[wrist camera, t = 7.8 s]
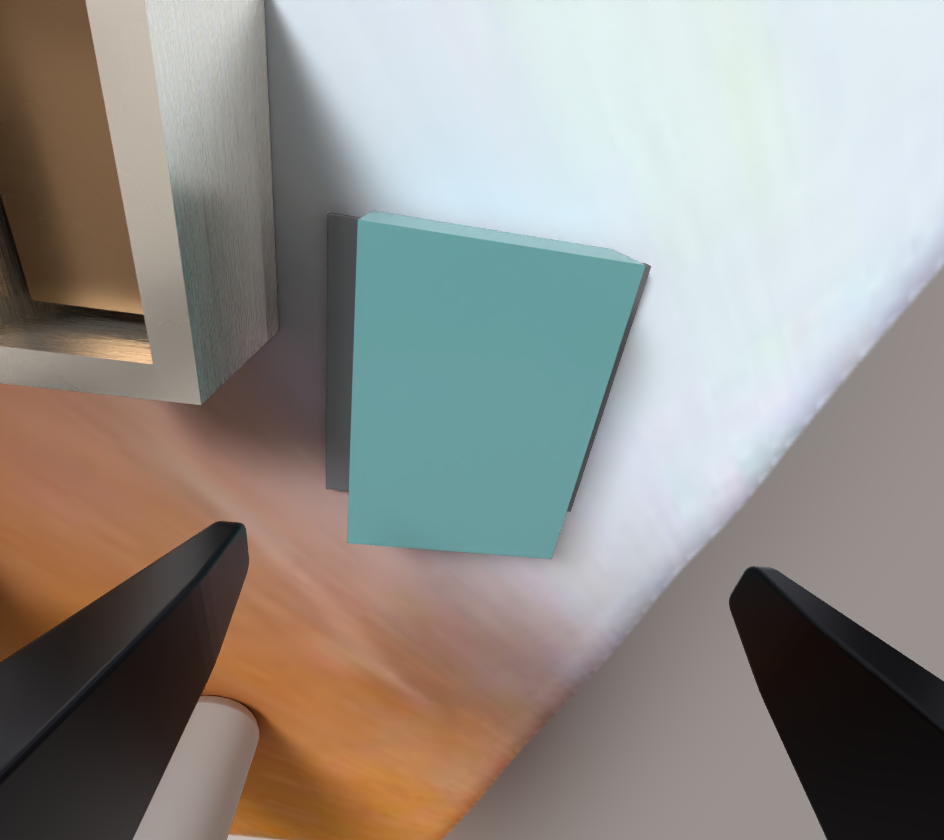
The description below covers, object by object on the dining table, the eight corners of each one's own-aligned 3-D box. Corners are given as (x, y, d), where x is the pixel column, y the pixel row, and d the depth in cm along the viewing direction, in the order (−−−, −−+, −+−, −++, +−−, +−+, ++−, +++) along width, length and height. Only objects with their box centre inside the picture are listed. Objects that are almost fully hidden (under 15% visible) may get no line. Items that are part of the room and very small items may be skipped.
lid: (538, 511, 17) (551, 558, 15) (359, 495, 16) (347, 543, 14) (612, 249, 13) (645, 265, 11) (373, 210, 12) (357, 219, 10)
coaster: (567, 504, 18) (570, 511, 17) (328, 482, 17) (325, 488, 16) (645, 263, 13) (651, 266, 13) (331, 213, 12) (327, 214, 12)
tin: (278, 330, 14) (201, 404, 9) (99, 307, 13) (-72, 374, 9) (263, -20, 10) (121, -165, 6) (11, -74, 9) (-360, -282, 5)
